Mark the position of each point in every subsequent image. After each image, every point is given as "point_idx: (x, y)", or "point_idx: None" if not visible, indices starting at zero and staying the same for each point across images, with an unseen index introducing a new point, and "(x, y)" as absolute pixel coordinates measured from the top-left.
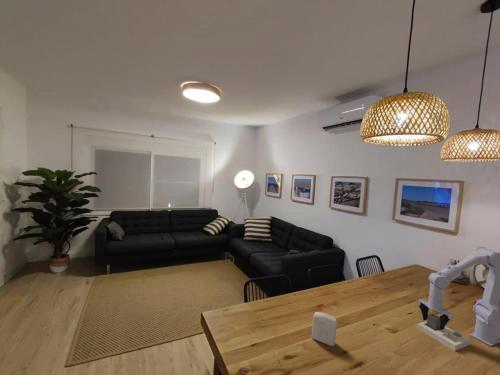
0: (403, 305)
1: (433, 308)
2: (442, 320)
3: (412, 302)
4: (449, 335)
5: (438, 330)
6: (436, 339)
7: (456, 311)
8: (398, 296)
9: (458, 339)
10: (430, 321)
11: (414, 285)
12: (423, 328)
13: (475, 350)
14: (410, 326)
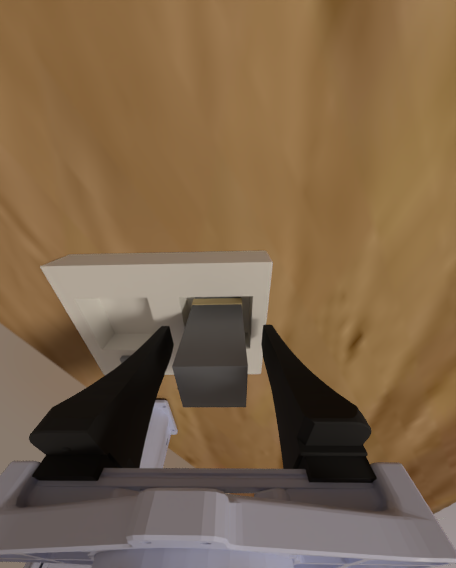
0: (398, 368)
1: (142, 546)
2: (100, 388)
3: (374, 409)
4: None
5: (181, 317)
6: (155, 253)
7: (264, 454)
8: (435, 403)
9: (123, 342)
10: (220, 332)
11: None
12: (230, 259)
13: None
14: (296, 226)
